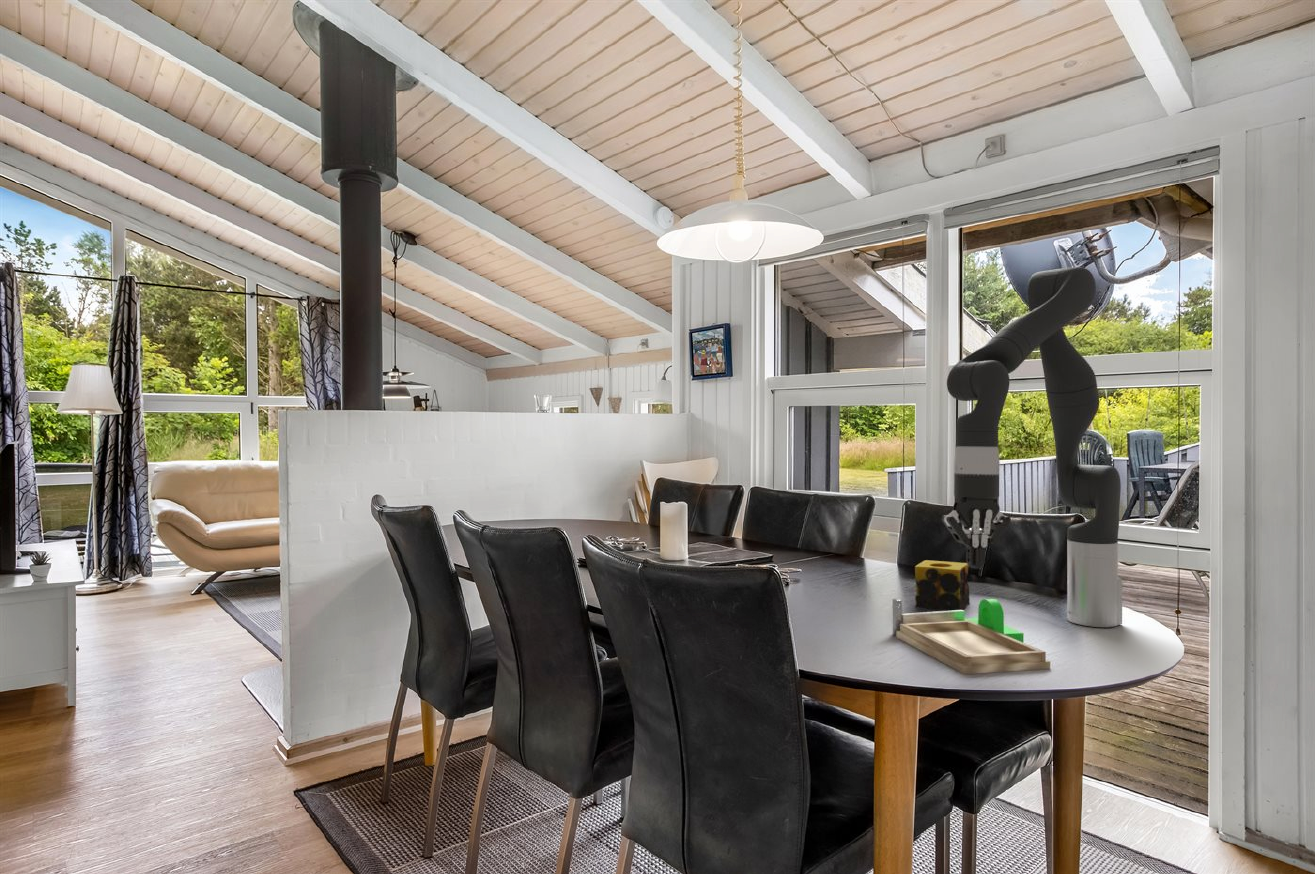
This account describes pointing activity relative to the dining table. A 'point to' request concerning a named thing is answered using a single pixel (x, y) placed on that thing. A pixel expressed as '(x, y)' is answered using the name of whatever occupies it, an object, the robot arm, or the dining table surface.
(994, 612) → the mechanical part
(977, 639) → the wooden tray
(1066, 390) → the robot arm
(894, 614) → the l-shaped metal bracket
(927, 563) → the yellow spotted cube
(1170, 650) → the dining table surface
